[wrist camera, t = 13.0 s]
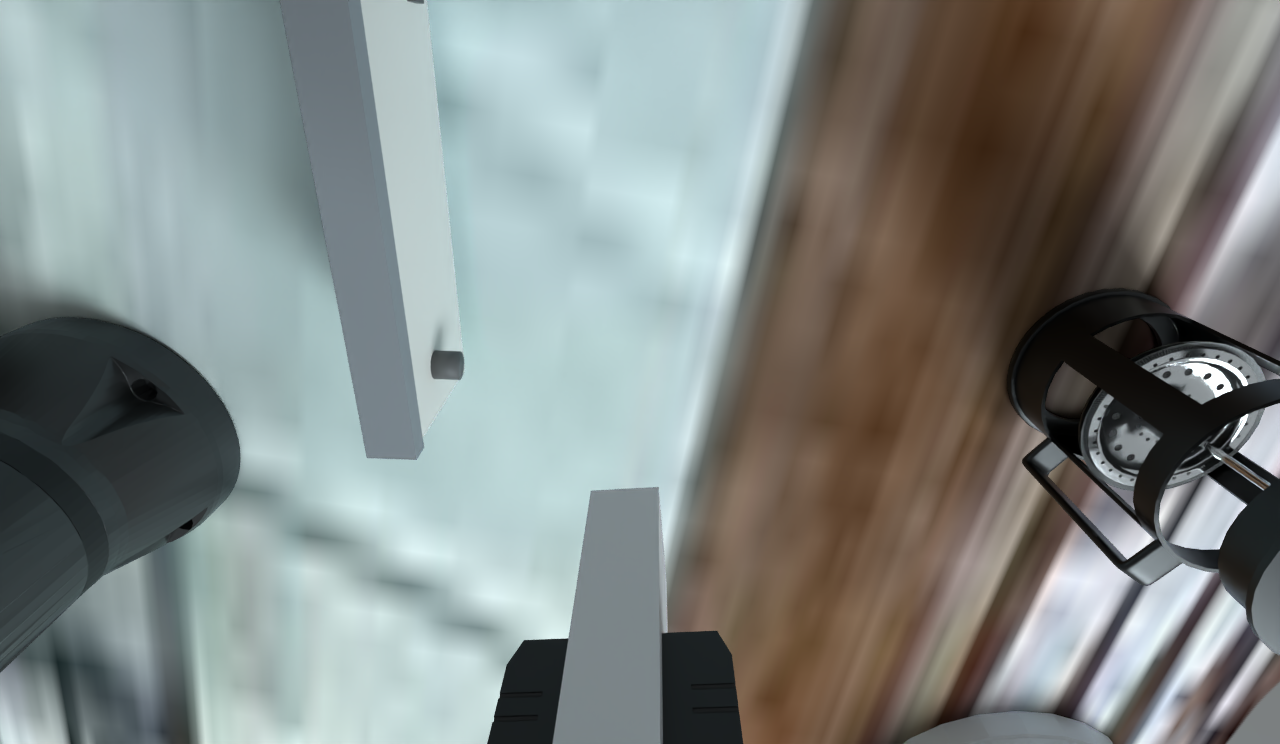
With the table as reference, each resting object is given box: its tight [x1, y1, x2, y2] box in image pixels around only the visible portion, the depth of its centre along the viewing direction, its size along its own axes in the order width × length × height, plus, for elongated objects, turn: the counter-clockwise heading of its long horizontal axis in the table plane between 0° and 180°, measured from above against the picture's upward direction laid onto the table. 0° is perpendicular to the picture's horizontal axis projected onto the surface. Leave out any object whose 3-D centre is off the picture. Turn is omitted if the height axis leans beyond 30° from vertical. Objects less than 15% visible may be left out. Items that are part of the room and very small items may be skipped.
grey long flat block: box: [280, 0, 465, 460], centre depth 27 cm, size 23×3×9 cm, turn 178°
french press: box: [1007, 288, 1280, 655], centre depth 26 cm, size 12×9×23 cm
